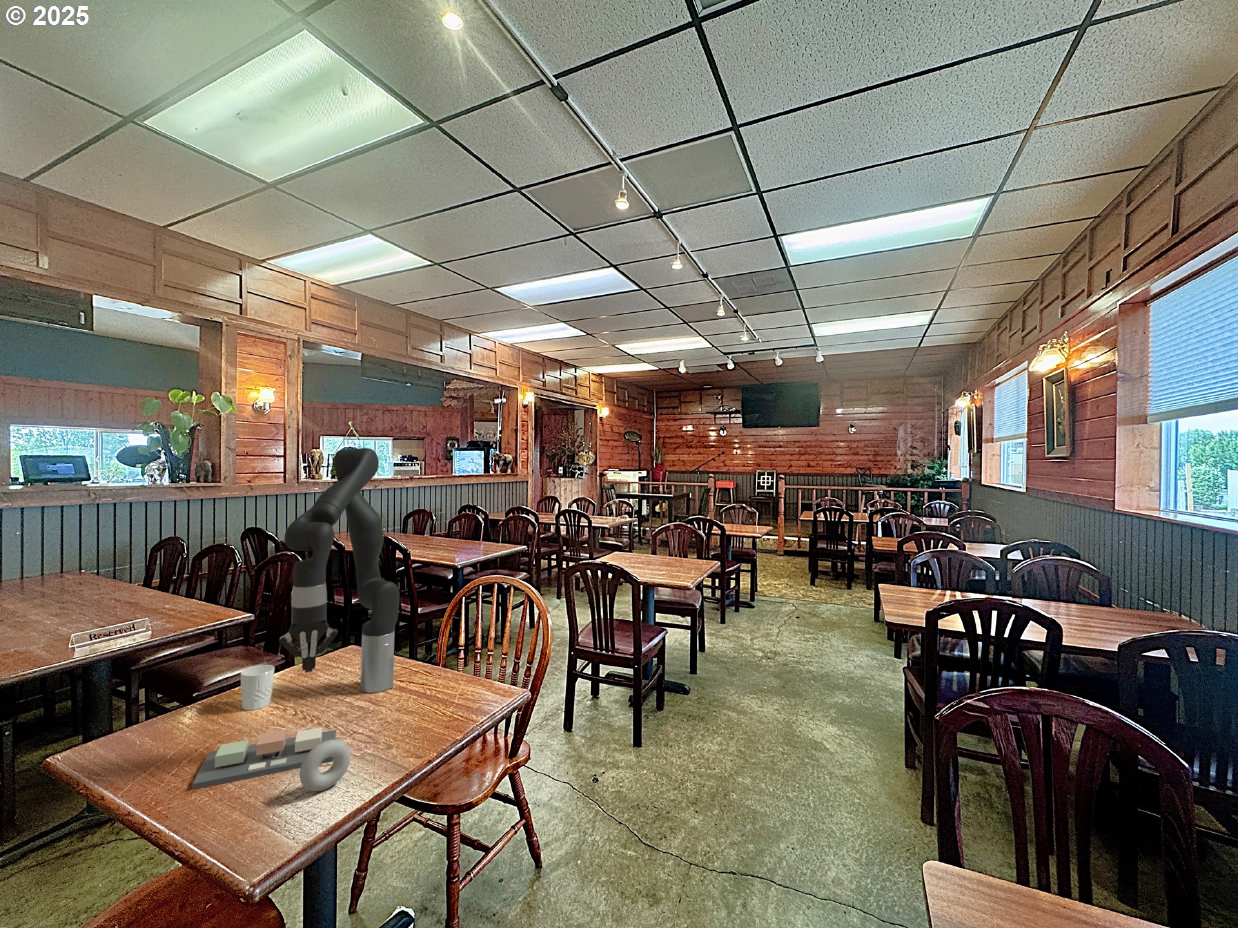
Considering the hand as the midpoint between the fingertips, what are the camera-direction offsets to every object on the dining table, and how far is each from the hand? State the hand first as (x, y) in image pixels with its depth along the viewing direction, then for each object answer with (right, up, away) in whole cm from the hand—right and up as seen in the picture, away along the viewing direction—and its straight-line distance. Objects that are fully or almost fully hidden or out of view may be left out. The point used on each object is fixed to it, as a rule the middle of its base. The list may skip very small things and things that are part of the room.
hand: (308, 670), depth 126 cm
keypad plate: (-4, -18, -8) cm, 20 cm away
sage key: (-11, -17, -11) cm, 23 cm away
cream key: (+3, -17, -4) cm, 18 cm away
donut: (+14, -18, -17) cm, 29 cm away
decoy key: (-4, -16, -8) cm, 18 cm away
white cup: (-26, -17, +18) cm, 36 cm away
